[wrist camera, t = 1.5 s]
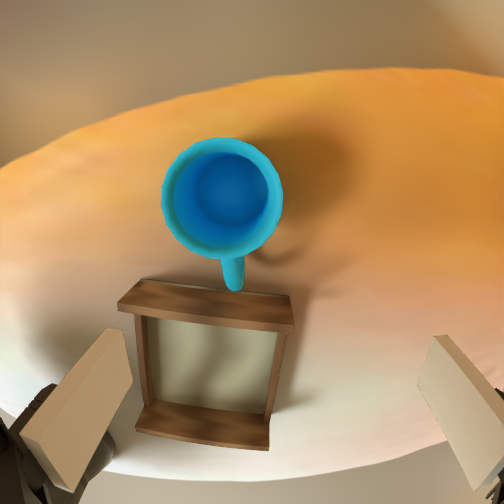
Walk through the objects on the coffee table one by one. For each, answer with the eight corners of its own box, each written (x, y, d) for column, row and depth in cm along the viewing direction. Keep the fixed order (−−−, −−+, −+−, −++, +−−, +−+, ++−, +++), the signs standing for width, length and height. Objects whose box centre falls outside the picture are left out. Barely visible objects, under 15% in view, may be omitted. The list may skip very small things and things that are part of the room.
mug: (184, 150, 27) (154, 146, 19) (274, 141, 27) (278, 131, 19) (199, 275, 30) (178, 312, 23) (283, 270, 30) (289, 307, 22)
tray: (150, 398, 35) (135, 430, 29) (141, 278, 31) (117, 302, 25) (268, 415, 35) (268, 450, 29) (289, 295, 30) (294, 325, 25)
